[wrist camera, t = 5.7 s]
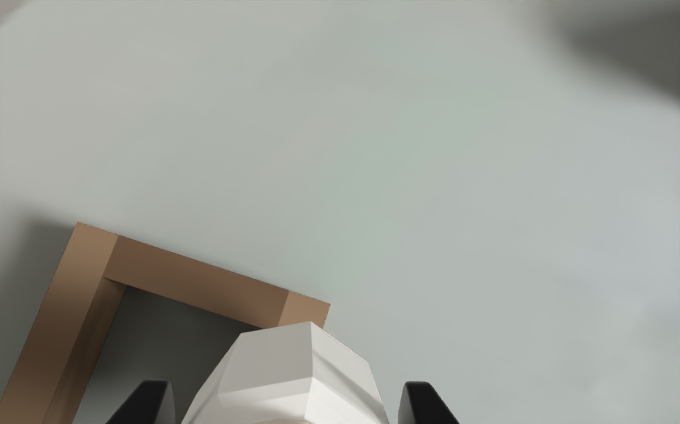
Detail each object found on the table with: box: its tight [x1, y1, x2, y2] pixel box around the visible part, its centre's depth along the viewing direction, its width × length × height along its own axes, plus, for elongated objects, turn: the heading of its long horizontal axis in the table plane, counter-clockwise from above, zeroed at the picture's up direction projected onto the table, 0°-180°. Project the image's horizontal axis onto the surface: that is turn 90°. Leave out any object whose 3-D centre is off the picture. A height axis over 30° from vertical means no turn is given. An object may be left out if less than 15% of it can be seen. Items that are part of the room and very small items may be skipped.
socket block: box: [0, 222, 330, 424], centre depth 20 cm, size 9×9×3 cm
